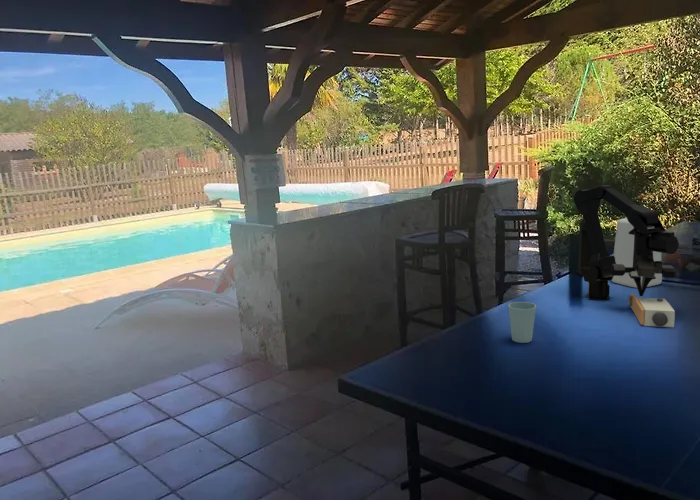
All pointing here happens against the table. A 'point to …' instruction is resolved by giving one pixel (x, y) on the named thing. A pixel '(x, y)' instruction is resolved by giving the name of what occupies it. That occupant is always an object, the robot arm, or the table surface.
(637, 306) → the side door
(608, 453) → the table surface
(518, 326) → the cup
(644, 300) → the camera housing
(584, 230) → the portable radio
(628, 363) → the table surface
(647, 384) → the table surface
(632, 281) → the plastic bottle
